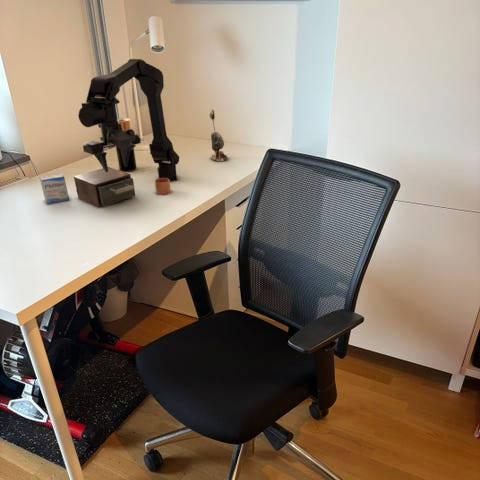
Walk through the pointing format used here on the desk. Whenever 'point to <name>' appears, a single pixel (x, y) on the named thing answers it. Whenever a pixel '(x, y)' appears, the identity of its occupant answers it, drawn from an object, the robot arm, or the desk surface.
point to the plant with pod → (217, 143)
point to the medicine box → (54, 188)
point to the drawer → (116, 191)
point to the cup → (162, 186)
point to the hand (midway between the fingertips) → (116, 169)
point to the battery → (132, 161)
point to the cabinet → (96, 183)
